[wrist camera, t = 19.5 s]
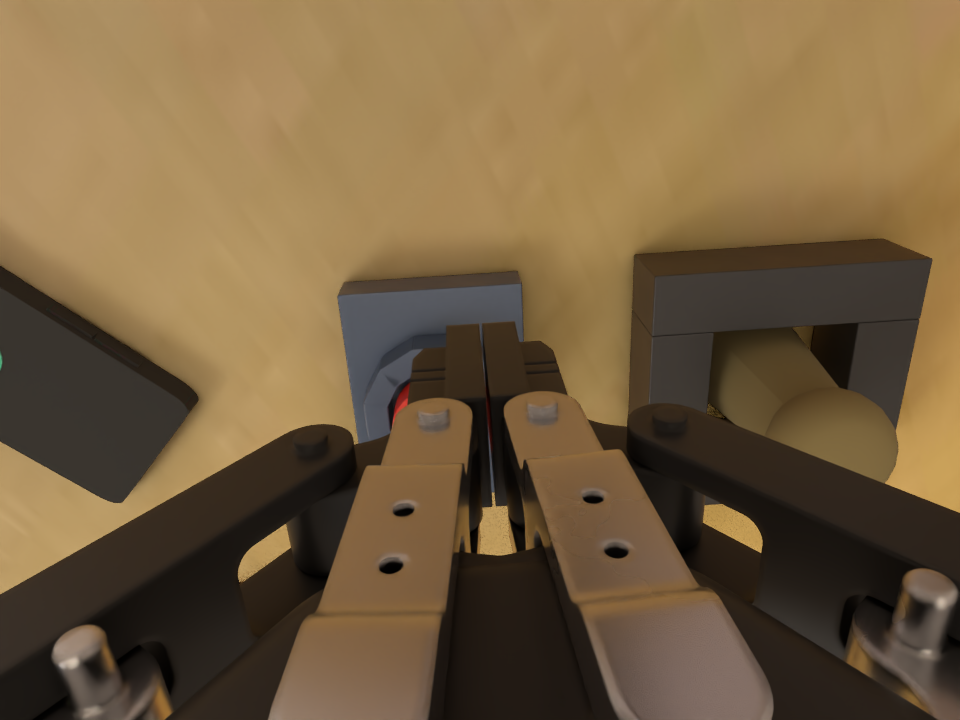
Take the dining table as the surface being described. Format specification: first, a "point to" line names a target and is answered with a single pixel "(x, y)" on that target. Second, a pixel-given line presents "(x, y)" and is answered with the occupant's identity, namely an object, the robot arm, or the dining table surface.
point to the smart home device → (81, 395)
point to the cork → (798, 401)
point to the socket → (777, 314)
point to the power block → (412, 332)
